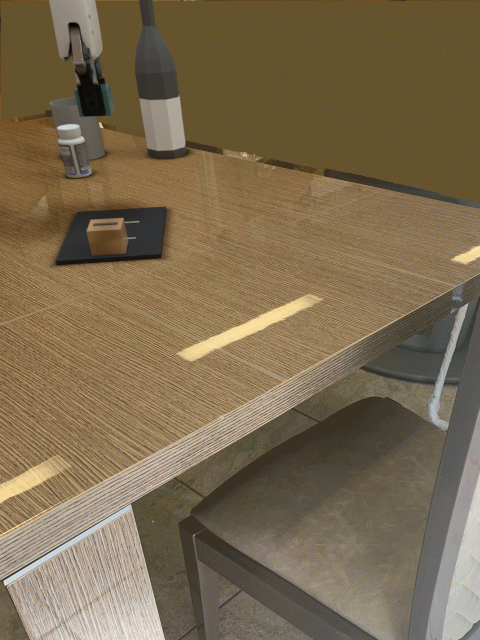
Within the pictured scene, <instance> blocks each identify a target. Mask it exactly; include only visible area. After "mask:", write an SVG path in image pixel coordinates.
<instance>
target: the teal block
mask: <svg viewBox="0 0 480 640" xmlns="http://www.w3.org/2000/svg"><path fill="white" fill-rule="evenodd" d="M101 89H102V95H103V100H104V105H105V110H106V114H105V115H104V116H103V117H112V116H113V114H114V111H115V104H114V99H113V94H112V87H111V83H106V84H101ZM73 92H74V96H75V97H76V102H77V106H78V111H79V116H80V117H85V116H84V115H83V113H82V108H81V104H80V99H79V95H78V90H77V86H76V87H75V89H74V90H73ZM90 117H94V116H90Z"/></svg>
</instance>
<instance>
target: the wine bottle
mask: <svg viewBox="0 0 480 640" xmlns="http://www.w3.org/2000/svg"><path fill="white" fill-rule="evenodd" d="M138 5H139V10H140V16H141V17H140V18H141V21H142V22H141V23H142V27H141V32H140V34H139V35H140V36H139V39H138V43H137V45H136V52H135V60H134V75H135V80H136V86H137V93H138V98H139V106H140V111H141V117H142V124H143V129H144V136H145V143H146V148H147V154H148V157H150V158H153V159H158V160H162V159H163V160H164V159H176V158H179V157H183V156H186V153H187V144H186V143H187V142H186V136H185V128H184V121H183V112H182V104H181V97H180V90H179V81H178V74H177V66H176V63H175V59H174V58H173V54H172V53H171V50H170V47H169V46H168V44H167V42H166V40H165V39H164V37H163V35H162V34H161V31H160V30H159V28H158V26H157V24H156V17H155V10H154V1H153V0H138Z"/></svg>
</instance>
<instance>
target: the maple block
mask: <svg viewBox="0 0 480 640" xmlns="http://www.w3.org/2000/svg"><path fill="white" fill-rule="evenodd" d="M86 232H87V236H88V240H89V245H90V249H91V253H92V256H101V255H116V254H126V250H127V245H128V238H127V232H126V227H125V222H124V218H113V219H96V220H91V221H90V223H89V226H88V229H87V231H86Z"/></svg>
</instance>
